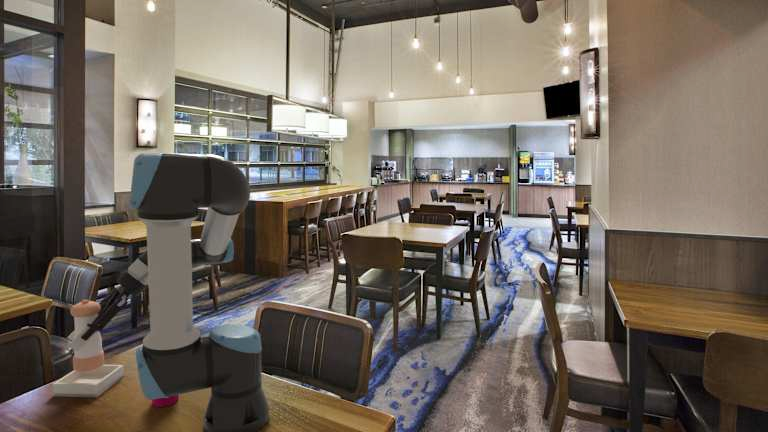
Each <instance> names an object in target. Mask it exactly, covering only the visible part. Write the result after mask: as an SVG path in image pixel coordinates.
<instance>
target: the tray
mask: <svg viewBox="0 0 768 432" xmlns="http://www.w3.org/2000/svg"><path fill="white" fill-rule="evenodd" d="M124 366H125V365H124V364H104V365H102V366H101V367H99V368H97V369H94V370H91V371H85V372H78V371H75V370H74V369H73V370H72V371H71V372H69V373H67V374H66V375H64V376H63V377H60V378H59V379H58V380H56V381H55V382H53V383H52V384H51V385H52V397H71V398H72V397H73V398H98V397H99V396H101V395H102V394H103V393H105V392H106V391H107V390H108V389H110V388H111V387H113V386H114V385H115V384H116V383H117V382H119V381H120V380H121V379H123V378H124V377H125V369H124V368H125V367H124Z"/></svg>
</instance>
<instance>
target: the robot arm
mask: <svg viewBox="0 0 768 432" xmlns="http://www.w3.org/2000/svg"><path fill="white" fill-rule="evenodd" d="M250 197H251V187H250V183H249V181H248V178H247V177H246V175H245V173H244V172H243V171H242V170H241V169H240V168H239V166H238V165H236V164H235V163H234V162H232V161H231V160H229V159H227V158H226V157H223V156H220V155H217V154H211V153H209V154H208V153H207V154H199V153H198V154H197V153H192V154H191V153H174V152H173V153H172V152H161V151H159V152H145V153H140V154H138V155H137V156H136V157H135V159H134V162H133V168H132V177H131V188H130V196H129V206H128V207H129V209H130V210H133V211H137V219H138V220H139V221H141V222H142V223H143V224H144V225H145V226H146V228H145V229H146V249H145V251H144V252H143V253H142V254H141V255H140V256H139V257H138V258H136V260H134V261H133V263H131V265H130V266H129V267H128V269H127V270H126V271H124V272H123V273H122V274H120V276H119V277H118V278H117V279H116V281H117V283H118V284H119V285H120V286H119V287H112V289H111V290H110V292H109V293H108V294H106V296H105V297H104V298H103V299H101V300H100V301H99V302H98V303H99V304H100V307H101V309H100V312H99V313H98V316H97V317H96V319H95V320H94V321H93V322H92V323H91V324H87V327H86V328H85V329H84V330H83V331H82V332H81V333H80V334H79V335H78V336H77V337H76V338H75V339H74V334H75V329H74V330H73V331H72V332H71V333H70V334H69V335H68V336H67V339H68V340H70V341H71V342H70V343H69V344H68V345H67V347H69V348H70V349H72V350H73V351H74V350H76V351H78V350H79V349H80V348H81V347H82V346H83V345H84V344H85V343H86V342H87V341H88V340H89V339H90V338H91V337H92V336H93V335H94V334H95V333H96V332H97V331H99V332H100V333H101V331H103V329H104V328H105V327H106V326H107V325H108V324H109V323H110V322H111V321H112V320H113V319H114V318H115V316H117V314H118V313H119V312H120V311H121V310H122V309H123V308H125V307H126V306H127V305H128V304H129V303H128V300H129V297H130V296H131V295H132V294H133V295H134V296H136V297H139V296H140V295H141V294H142V293H143V292H144V291H145V290H146V289H147V287H148V296H149V297H148V301H149V304H148V305H149V325H150V326H149V328H150V331H149V332H148V333H147V334H146V335H145V336H144V337H143V340H142V345H141V346H140V347H137V348H136V349H135V358H136V365H137V372H138V378H139V383H140V384H139V385H140V388H141V392H142V394H143V396H144V397H145V399H147V400H151V401H152V400H153V399H159V398H169V397H170V396H175V395H178V396H179V395H184V394H186V393H187V394H188V393H192V392H196V391H200V390H201V391H202V390H206V389H210V388H211V392H210V393H211V394H210V397H209V401H208V404H207V407H206V411H205V413H204V416H203V417H204V418H203V420H204V421H203V423H204V427H203V428H204V430H205V432H257V431H259V430H260V429H262V428H263V427H264V426H266V424H267V422H268V421H269V419H270V405H269V403H268V400H267V398H266V395H265V391H264V390H263V387H262V351H263V348H262V340H261V334H260V332H259V331H258V330H257V329H255V328H253V327H252V326H248V325H244V324H234V323H233V324H230V323H228V324H221V325H217V326H214V327H212V328H211V330H210V331H209V333H208V335H207V336H202V337H201V331H200V329H198V328H196V327H195V326H194V321H193V320H194V316H193V315H194V313H193V312H194V311H193V310H194V308H193V307H194V306H193V304H194V303H193V271H192V270H193V266H201V265H216V264H218V265H219V264H220V265H221V264H223V263H224V264H225V263H229V262H232V261H233V260H234V253H235V251H234V249H235V248H234V242H233V240H232V236H233V233H234V230H235V227H236V224H237V221H238V218H239V216H240V214H241V213H243V212H244V211H245V210H246V208H247V206H248V204H249V202H250ZM203 208H204V209H206V208H207V211H206V214H205V220H204V223H203V228H202V232H201V237H200V238H197V239H193V238H192V224H193V223H194V222H195V221H196V219H198V218H199V209H203ZM147 285H148V286H147Z"/></svg>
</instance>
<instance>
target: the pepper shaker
mask: <svg viewBox="0 0 768 432" xmlns="http://www.w3.org/2000/svg"><path fill="white" fill-rule="evenodd" d="M99 303H100V302H98V301H95V300H94V301H93V300H89V299H82V300H81V301H79V302H78V303H75V304H74V305H72V306H71V308H70V311H69V312H70V315H71V316H72V317H73V319H74V330H75V334H74V339H75V338H76V337H77V336H78V335H79V334H80V333H81V332H82V331H83V330H84V329H85V328H86V327H87V324H91V323H92V322H93V321H94V320H95V319H96V317H97V316H98V313H99V312H100V309H101V307H100V304H99ZM73 354H74V355H72V366H73V367H72V368H73V371H74V370H75V371H78V372H85V371H91V370H94V369H97V368H99V367H101V366H102V365H105V352H104V350H103V340H102V335H101V331H100V332H99V331H97V332H96V333H95V334H94V335H93V336H92V337H91V338H90V339H89V340H88V341H87V342H86V343H85V344H84V345H83V346H82V347H81V348H80V349H79V350H78V351H76V350H74V349H73Z"/></svg>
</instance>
